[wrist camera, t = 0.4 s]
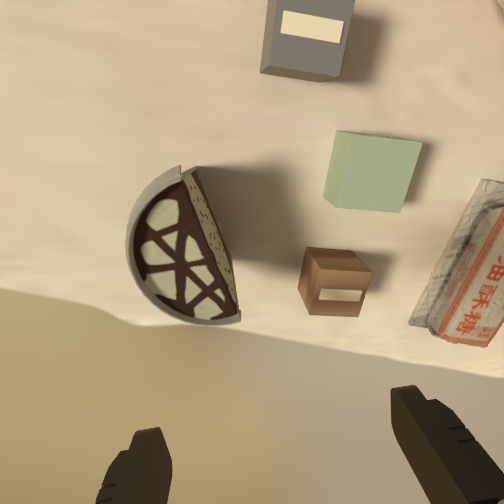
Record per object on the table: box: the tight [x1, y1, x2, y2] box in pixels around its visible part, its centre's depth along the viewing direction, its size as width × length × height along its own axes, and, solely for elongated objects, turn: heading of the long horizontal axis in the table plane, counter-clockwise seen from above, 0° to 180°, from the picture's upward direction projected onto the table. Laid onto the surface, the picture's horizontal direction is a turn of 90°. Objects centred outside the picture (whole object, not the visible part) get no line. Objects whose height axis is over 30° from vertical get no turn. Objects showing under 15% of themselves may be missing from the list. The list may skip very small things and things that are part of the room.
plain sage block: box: [323, 131, 423, 213], centre depth 28 cm, size 6×6×4 cm
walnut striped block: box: [298, 247, 372, 317], centre depth 32 cm, size 5×5×5 cm
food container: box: [125, 165, 241, 326], centre depth 26 cm, size 12×6×10 cm, turn 18°
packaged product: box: [408, 180, 504, 348], centre depth 34 cm, size 18×5×10 cm
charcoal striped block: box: [260, 0, 355, 82], centre depth 23 cm, size 5×5×5 cm
